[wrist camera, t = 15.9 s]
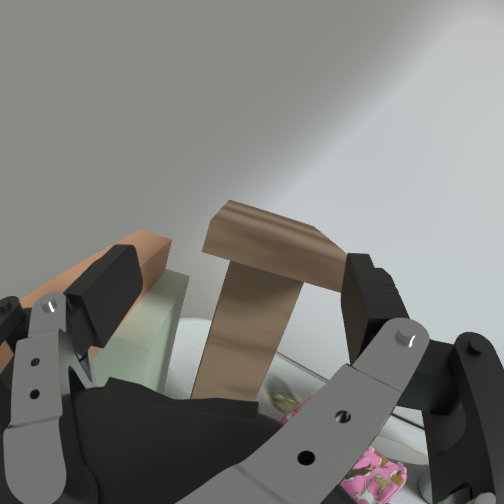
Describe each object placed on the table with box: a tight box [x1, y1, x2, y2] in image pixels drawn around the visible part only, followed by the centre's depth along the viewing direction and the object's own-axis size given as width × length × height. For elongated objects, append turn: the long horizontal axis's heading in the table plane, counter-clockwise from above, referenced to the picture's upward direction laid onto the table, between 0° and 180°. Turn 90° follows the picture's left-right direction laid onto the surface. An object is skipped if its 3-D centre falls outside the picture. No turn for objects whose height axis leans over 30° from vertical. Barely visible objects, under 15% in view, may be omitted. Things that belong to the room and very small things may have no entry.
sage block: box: [93, 269, 189, 395], centre depth 30 cm, size 16×10×22 cm, turn 179°
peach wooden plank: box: [0, 230, 172, 374], centre depth 22 cm, size 24×4×4 cm, turn 179°
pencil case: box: [280, 398, 407, 504], centre depth 34 cm, size 21×9×9 cm, turn 36°
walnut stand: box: [190, 200, 347, 401], centre depth 29 cm, size 16×12×32 cm
